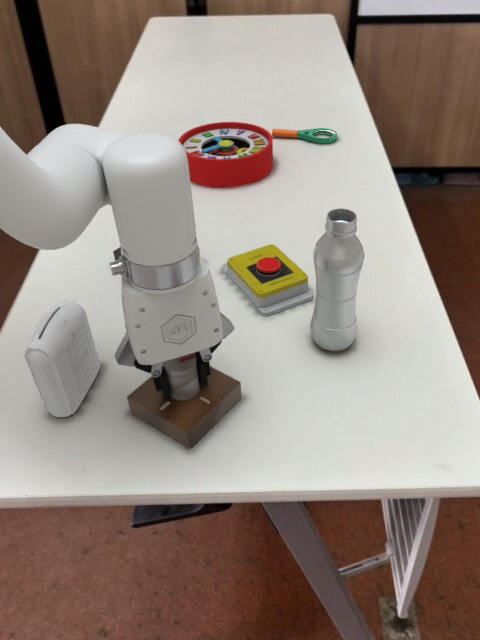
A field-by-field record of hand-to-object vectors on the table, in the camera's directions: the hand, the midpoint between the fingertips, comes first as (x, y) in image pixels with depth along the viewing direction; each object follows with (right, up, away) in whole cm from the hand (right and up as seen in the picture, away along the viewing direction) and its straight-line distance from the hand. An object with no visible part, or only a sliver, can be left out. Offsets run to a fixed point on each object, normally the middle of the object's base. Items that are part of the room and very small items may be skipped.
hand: (183, 384), depth 70 cm
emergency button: (+10, +15, +22) cm, 28 cm away
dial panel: (0, -3, +3) cm, 4 cm away
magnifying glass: (+19, +53, +64) cm, 85 cm away
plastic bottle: (+20, +5, +11) cm, 23 cm away
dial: (0, -1, +1) cm, 1 cm away
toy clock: (+2, +43, +54) cm, 69 cm away
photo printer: (-15, -1, +5) cm, 16 cm away
